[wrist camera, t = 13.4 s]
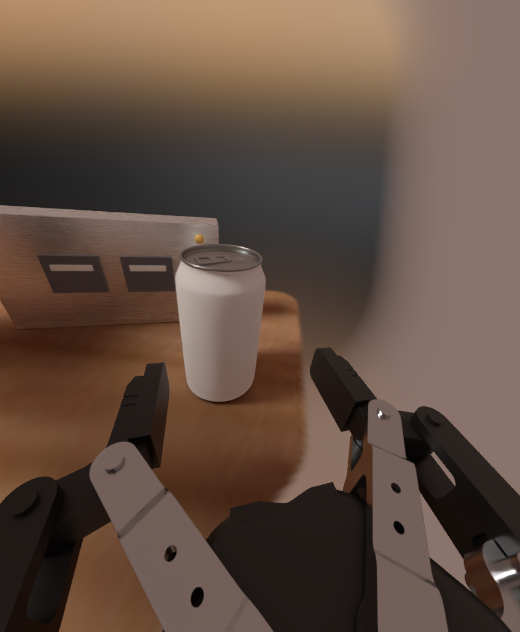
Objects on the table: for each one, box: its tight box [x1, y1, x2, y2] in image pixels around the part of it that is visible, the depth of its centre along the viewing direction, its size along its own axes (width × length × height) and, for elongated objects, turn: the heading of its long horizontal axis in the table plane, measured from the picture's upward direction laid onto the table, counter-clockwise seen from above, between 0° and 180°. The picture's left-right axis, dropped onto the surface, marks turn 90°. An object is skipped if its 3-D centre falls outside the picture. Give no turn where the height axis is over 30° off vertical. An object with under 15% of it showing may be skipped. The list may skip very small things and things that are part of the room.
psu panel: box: [0, 206, 218, 329], centre depth 25 cm, size 22×4×12 cm, turn 103°
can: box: [175, 244, 265, 402], centre depth 18 cm, size 6×6×12 cm
